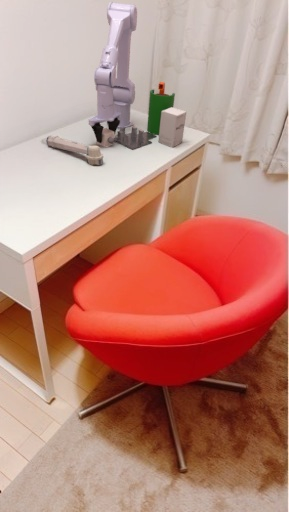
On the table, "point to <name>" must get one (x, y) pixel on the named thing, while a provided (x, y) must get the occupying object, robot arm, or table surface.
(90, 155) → the beige long angled cylinder
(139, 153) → the table surface
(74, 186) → the table surface
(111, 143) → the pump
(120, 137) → the grey peg tray
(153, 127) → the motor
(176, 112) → the supplement box
